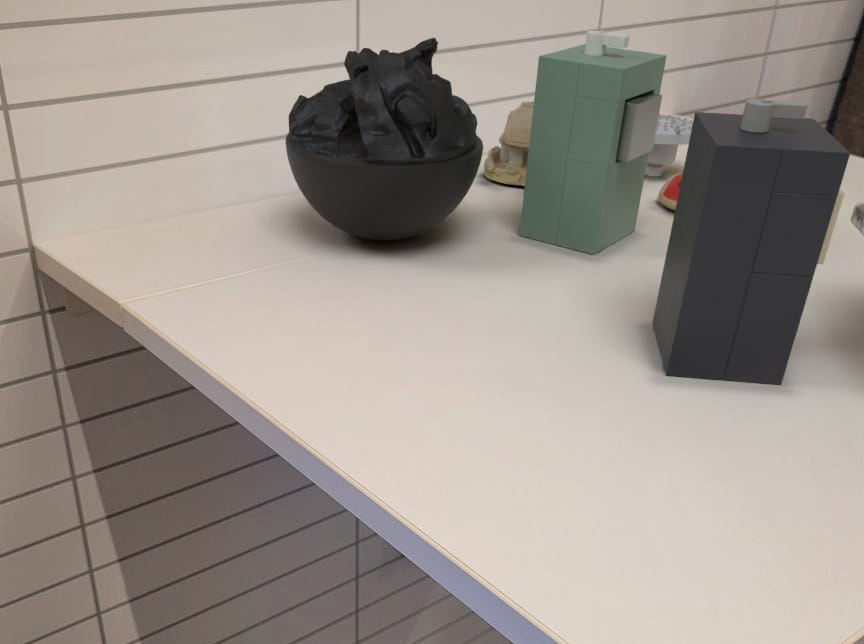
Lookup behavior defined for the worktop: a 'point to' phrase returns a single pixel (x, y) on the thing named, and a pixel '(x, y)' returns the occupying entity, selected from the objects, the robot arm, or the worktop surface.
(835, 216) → the lotion plate
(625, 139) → the plate
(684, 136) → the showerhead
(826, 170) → the lotion dispenser
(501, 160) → the ceramic model
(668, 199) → the red and beige wedge
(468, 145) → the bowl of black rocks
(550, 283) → the worktop surface
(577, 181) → the soap dispenser
